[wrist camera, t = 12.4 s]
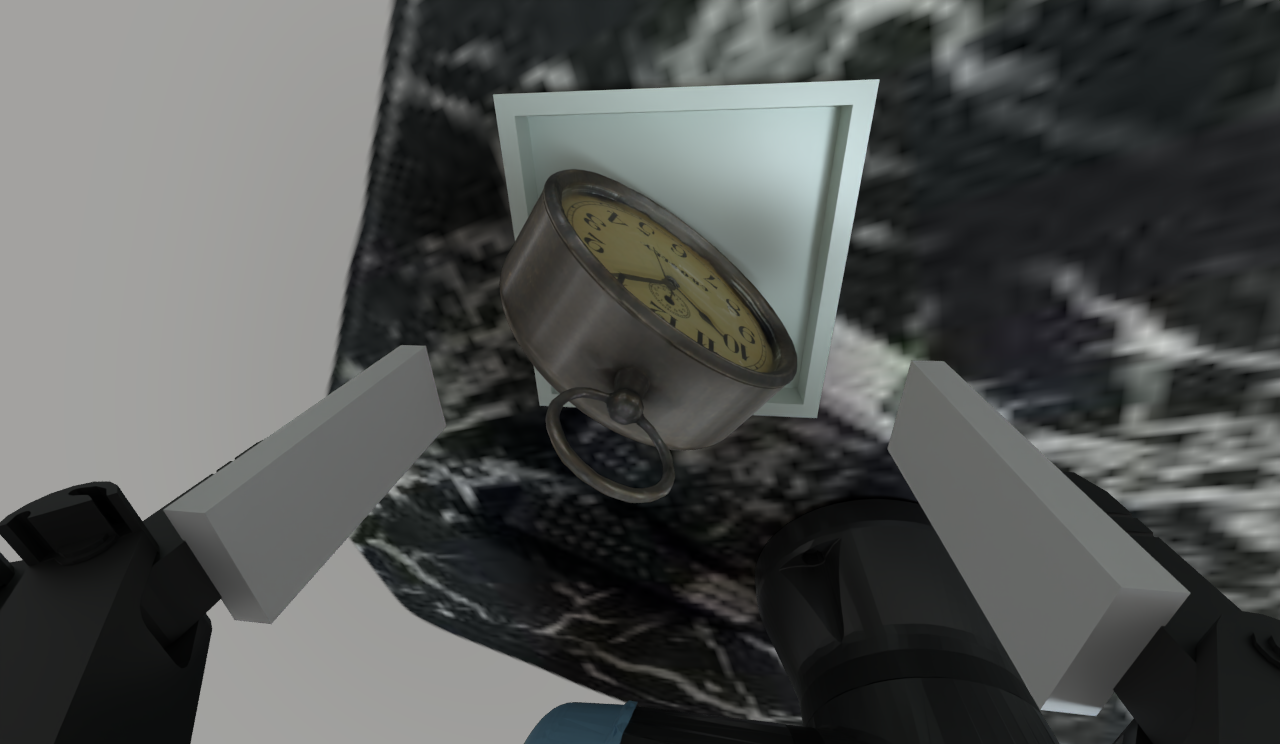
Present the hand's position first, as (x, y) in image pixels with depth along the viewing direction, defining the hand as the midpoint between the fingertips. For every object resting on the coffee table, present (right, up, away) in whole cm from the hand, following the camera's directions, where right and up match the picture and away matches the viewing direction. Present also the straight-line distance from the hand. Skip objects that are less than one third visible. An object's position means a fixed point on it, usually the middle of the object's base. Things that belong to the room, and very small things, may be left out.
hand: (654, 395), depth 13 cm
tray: (+2, +6, +11) cm, 13 cm away
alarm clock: (+1, +6, +11) cm, 12 cm away
